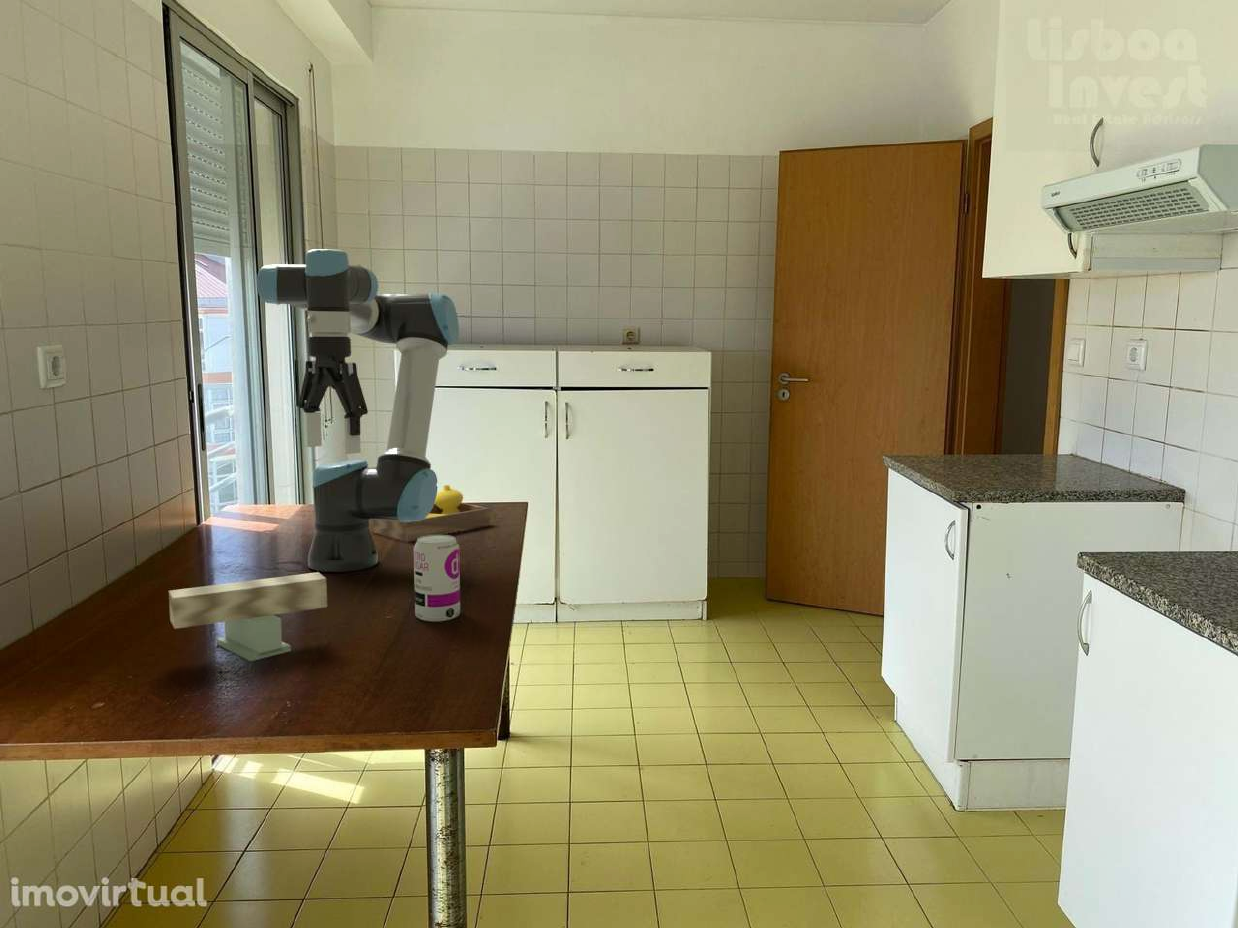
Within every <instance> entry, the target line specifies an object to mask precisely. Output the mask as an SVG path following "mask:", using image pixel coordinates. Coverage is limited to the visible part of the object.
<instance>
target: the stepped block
mask: <svg viewBox="0 0 1238 928" xmlns="http://www.w3.org/2000/svg"><path fill="white" fill-rule="evenodd" d="M224 630H225V631H224V634H225V635H224V636H222V637H218V638H216V645H217V646H219V647H221V648H224V649H225V650H228V651H229V652H232V653H234V654H235V655H237V656H239V657H241V658H243V659H245V660H247V661H249V662H253V661H257V660H261V659H265V658H269V657H273V656H274V657H275V656H277V655H280V654H285V653H289V652H291V651H292V649H291V648H292V647H291V644H289V643H286V642H284V641H283V637H282V636H283V635H282V633H283V632H282V618H281V617H279V616H277V615H276V614H274V615H267V616H260V617H253V618H246V619H239V620H232V621H226V622H224Z"/></svg>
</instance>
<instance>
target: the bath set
mask: <svg viewBox="0 0 1238 928" xmlns="http://www.w3.org/2000/svg"><path fill="white" fill-rule="evenodd" d="M442 487H443V489H442V490H440V491H438V492H437V495H436V500H435V504H436V506H438V507H439V508H440V509H443V511H442V513H441V514H428V515H427V517H426V518H430V517H436V516H442V515H447V514H453V513H459V512H461V511H460V510H459V509H458V508H457V507H458V506H459V505H460V504H461V503H463V499H464V495H463V493H462V492H461V491H459V490H457V489H454V488H451V486H450V484H446V485H443V486H442Z"/></svg>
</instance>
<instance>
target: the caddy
mask: <svg viewBox="0 0 1238 928" xmlns="http://www.w3.org/2000/svg"><path fill="white" fill-rule="evenodd" d="M457 508H458V509H459V510H460V511H461V512H459V513H453V514H447V515H442V516H436V517H430V518H424V519H423V520H421V521H408V522H401V521H387V520H370V533H371V532H374V533H373V534H375V533H378V534H377V535H379V534H381V535H380V536H382V535H384V536H383V537H386V536H387V538H390V537H391V539H393V538H395V539H394V540H397V539H399V540H398V541H401V542H404V541H405V543H410V542H411V541H412V542H415V541H416V542H417V539H418V538H420V537H422V536H428V535H444V534H445V535H449V534H448V533H450V534H454V533H453V532H455V533H458V532H457V531H460V532H464V531H470V530H472V529H473V530H474V529H478V528H483V527H488V526H490V520H491V519H490V508H489V507H485V506H481V505H474V504H470V503H466V502H465V503H464V502H461V504H460V505H459V506H458V507H457ZM442 511H443V509H440V508H439V507H438V506H436V504H435V503H434V506H433V508H432V510H431V512H430V513H429V514H441V513H442Z"/></svg>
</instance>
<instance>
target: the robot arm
mask: <svg viewBox="0 0 1238 928" xmlns="http://www.w3.org/2000/svg"><path fill="white" fill-rule="evenodd" d="M256 289H257V293H258V295H259V297H260V299H261V300H262V301H263V302H264V303H266V304H272V305H273V304H274V305H277V306H278V305H279V306H280V305H281V304H282V305H289V306H292V307H296V308H298V309H301V310H303V311H305V312H307V318H306V321H307V327H308V328H307V330H308V333H309V334H311V336H309V338H308V339H307V341H308V342H307V343H308V355H309V357H311V358H315V360H306V361H305V365H304V366H305V369H304V370H305V372H304V377H303V381H302V386H301V389H300V390H301V391H300V395H299V399H298V402H297V403H298V405H297V406H298V408H299V409H303V410H302V411H303V412H304V413H305V425H306V428H305V429H306V430H305V431H306V447H307V448H313V447H314V448H315V447H322V446H323V444H322V443H323V442H322V416H321V415H322V413H321V411H322V409H321V408H320V405H321V403H322V401H323V399H324V397H325V394H326V392H327V389H328V388H329V387H330V388H331V389H333V390H335V393H336V395H337V397H338V399H339V401H340V403H341V405H342V408H343V410H344V412H345V414H344V417H343V419H344V420H343V421H344V422H343V423H344V450H345V451H344V452H345V455H351V454H360V453H362V451H361V450H362V449H361V418H362V417H363V415H367V414H368V413H369V410H368V406H367V403H366V401H365V397H364V396H365V395H364V394H363V393H364V392H363V389H362V386H361V382H360V380H359V377H358V370H357V369H358V368H357V364H356V362H346V358H349V357H350V356H351V355H352V339H351V338H350V337H349V336H348V335H349V334H351V333H352V334H354V335H356V336H359V337H362V338H365V339H369V340H372V341H376V342H379V343H384V344H391V345H392V344H395V347H396V349H397V350H398V351H399V353H400V354H401V356H400V362H399V368H398V373H397V381H396V387H395V394H394V400H393V406H392V407H393V408H392V414H391V419H390V426H389V431H388V439H387V445H386V451H385V452H383V453H382V454H380V455H379V456H378V457H377V464H376V467H373V466H372V467H370V466H369V463H368V461H367V459H352V460H344V461H336V462H332V463H326V464H323V465H319V466H317V467H316V468H315V470H314V472H313V478H312V479H313V480H312V481H313V482H312V483H313V484H312V490H313V508H314V509H313V510H314V511H313V512H314V534H313V535H314V536H313V537H312V541H311V545H310V547H309V552H308V554H307V566H308V568H309V569H311V570H314V571H317V572H329V573H332V572H333V573H342V572H343V573H344V572H352V571H353V572H355V571H360V570H365V569H368V568H371V567H374V566H376V565H377V564H378V563H379V557H378V556H379V553H378V550H377V546H376V545H375V542H374V539H373V537H372V533H371V530H370V521H371V520H387V521H401V522H408V521H421V520H423V519H424V518H426V517H427V515H428V514H429V513H430V512H431V510H432V508H433V506H434V503H435V500H436V495H437V494H438V485H437V484H438V476H437V474H436V472H435V471H434V470H433V469H431V467H432V464H431V462H430V461H429V460H428V459H427V457H426V455H427V454H426V453H427V447H428V440H429V432H430V427H431V426H430V425H431V420H432V413H433V412H432V411H433V404H434V398H435V393H436V392H435V390H436V383H437V376H438V369H439V363H440V360H441V359H442V358H444V357H446V355H447V354H448V347H449V346H453V345H455V344H457V342H458V340H459V335H460V333H459V332H460V330H459V329H460V328H459V327H460V326H459V324H460V323H459V318H458V313H457V309H456V307H455V303H454V302H453V299H452V298H450V297H449V296H448V295H446V294H438V293H432V292H431V293H378V291H379V281H378V278H377V276H376V275H375V273H374V272H373V271H372V270H371V269H369V268H368V267H366V266H362V265H360V264H350V262H349V257H348V253H347V252H346V251H344V250H341V249H325V248H324V249H323V248H322V249H316V248H315V249H310V250H308V251H307V252H306V254H305V264H281V263H277V264H268V265H267V264H266V265H264V266H262V267H261V268H260V269H259V271H258V273H257V275H256Z"/></svg>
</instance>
